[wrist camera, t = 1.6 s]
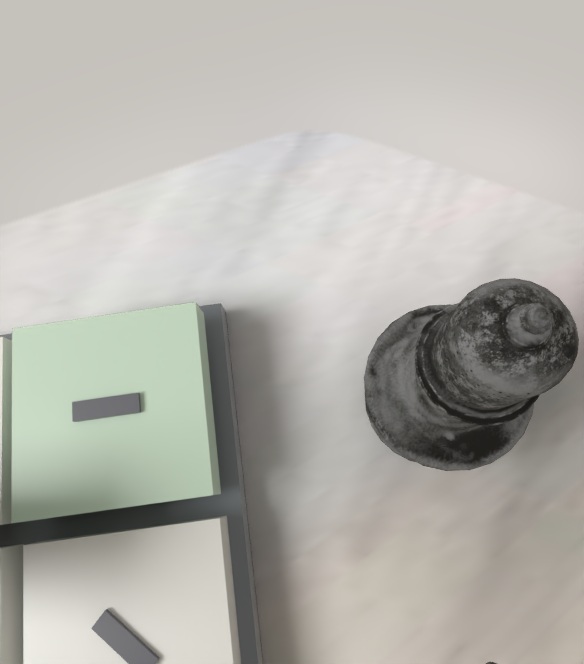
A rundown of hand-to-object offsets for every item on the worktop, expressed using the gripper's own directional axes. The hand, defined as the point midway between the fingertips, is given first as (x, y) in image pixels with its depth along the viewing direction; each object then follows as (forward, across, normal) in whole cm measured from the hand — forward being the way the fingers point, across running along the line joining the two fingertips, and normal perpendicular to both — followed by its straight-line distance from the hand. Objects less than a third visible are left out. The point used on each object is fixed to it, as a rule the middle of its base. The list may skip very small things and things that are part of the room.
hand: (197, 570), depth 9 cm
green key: (+12, +7, +7) cm, 15 cm away
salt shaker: (+15, -5, +4) cm, 16 cm away
